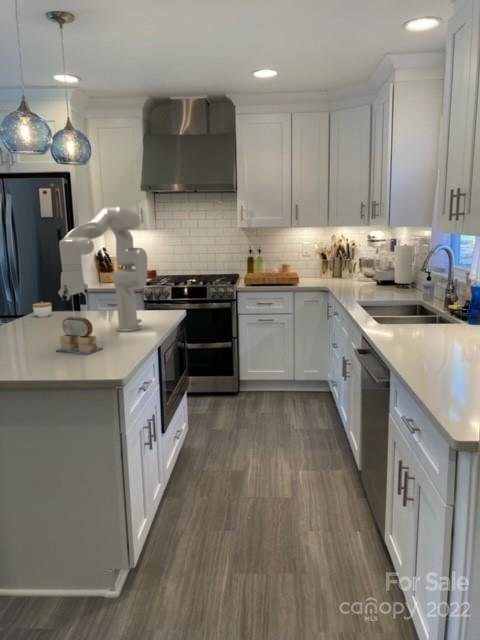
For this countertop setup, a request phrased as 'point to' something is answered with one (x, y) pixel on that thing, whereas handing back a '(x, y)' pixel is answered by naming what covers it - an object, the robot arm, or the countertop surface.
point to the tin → (77, 326)
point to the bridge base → (78, 344)
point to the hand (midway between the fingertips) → (75, 306)
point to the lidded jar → (42, 309)
